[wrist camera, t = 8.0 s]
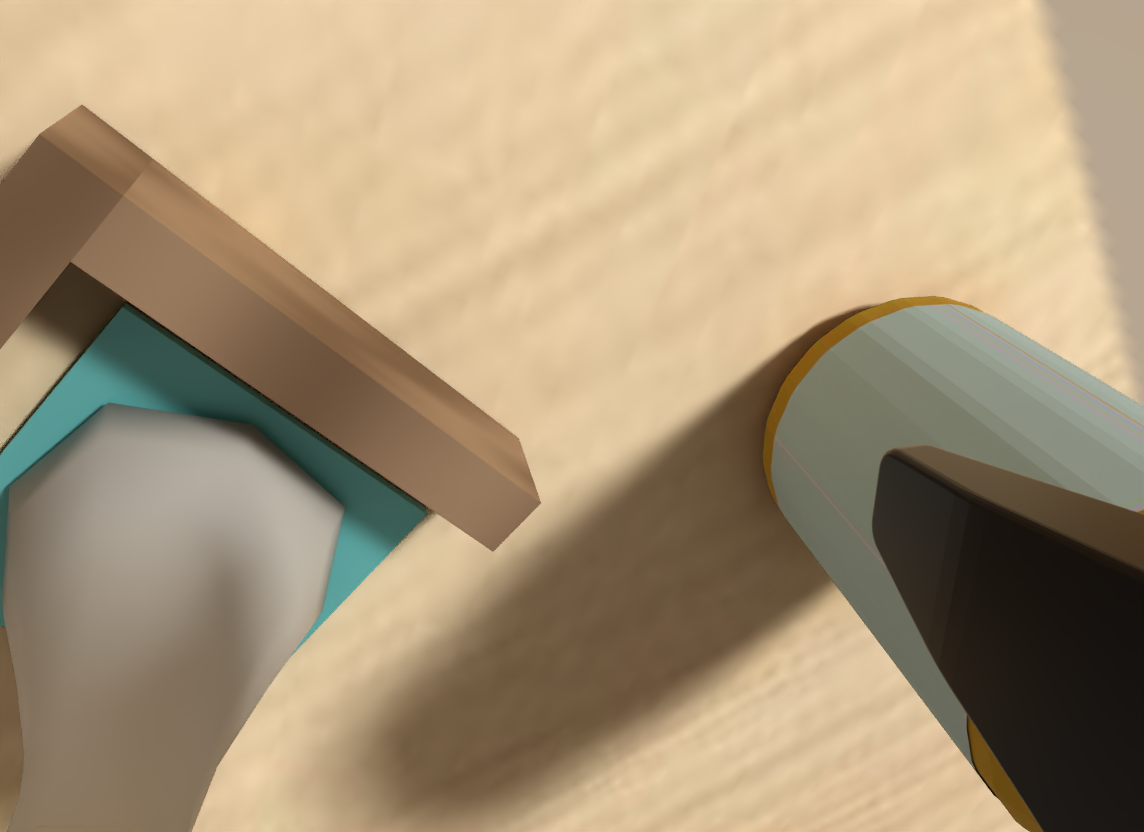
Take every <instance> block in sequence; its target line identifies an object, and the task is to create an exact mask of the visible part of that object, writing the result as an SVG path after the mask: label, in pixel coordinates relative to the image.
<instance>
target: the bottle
mask: <svg viewBox="0 0 1144 832" xmlns="http://www.w3.org/2000/svg"><path fill="white" fill-rule="evenodd" d="M914 445H930V446H934V447H937V448H940V449H943V450H946V451H949V452H952V453H955V454H958V455H962V456H965V457H968V458H971V459H974V460H977V461H980V462H983V463H986V464H989V465H993V466H996V467H999V468H1002V469H1005V470H1008V471H1011V472H1014V473H1017V474H1021V475H1024V476H1027V477H1030V478H1033V479H1036V480H1039V481H1042V482H1045V483H1049V484H1052V485H1055V486H1058V487H1061V488H1064V489H1067V490H1070V491H1073V492H1077V493H1080V494H1083V495H1086V496H1089V497H1092V498H1095V499H1098V500H1101V501H1104V502H1108V503H1111V504H1114V505H1117V506H1120V507H1123V508H1126V509H1129V510H1132V511H1136V512H1139V513H1142V514H1144V406H1143V405H1141V404H1139V403H1138V402H1136V401H1134V400H1133V399H1131V398H1129V397H1127V396H1126V395H1124V394H1122V393H1121V392H1119V391H1117V390H1116V389H1114V388H1112V387H1111V386H1109V385H1107V384H1106V383H1104V382H1102V381H1101V380H1099V379H1097V378H1096V377H1094V376H1092V375H1091V374H1089V373H1087V372H1086V371H1084V370H1082V369H1081V368H1079V367H1077V366H1076V365H1074V364H1072V363H1071V362H1069V361H1067V360H1065V359H1064V358H1062V357H1060V356H1059V355H1057V354H1055V353H1054V352H1052V351H1050V350H1049V349H1047V348H1045V347H1044V346H1042V345H1040V344H1039V343H1037V342H1035V341H1034V340H1032V339H1030V338H1029V337H1027V336H1025V335H1024V334H1022V333H1020V332H1019V331H1017V330H1015V329H1014V328H1012V327H1010V326H1009V325H1007V324H1005V323H1004V322H1002V321H1000V320H998V319H997V318H995V317H993V316H991V315H989V314H987V313H984V312H983V311H981V310H979V309H977V308H975V307H973V306H971V305H968V304H965V303H962V302H958V301H955V300H951V299H948V298H944V297H936V296H928V297H913V298H900V299H896V300H891V301H888V302H886V303H883V304H880V305H878V306H875V307H872V308H870V309H867V310H865V311H862V312H859V313H857V314H855V315H854V316H852V317H850V318H848V319H846V320H845V321H844V322H842V323H841V324H840V325H838V326H837V327H836V328H834V329H833V330H831V331H830V332H829V333H827V334H826V335H825V336H823V337H822V338H821V339H819V340H818V341H817V342H816V343H815V344H814V345H813V346H812V347H811V348H810V349H809V350H808V351H807V352H806V354H805V355H804V356H803V357H802V359H801V360H800V361H799V362H798V363H797V365H796V366H795V367H794V368H793V370H792V371H791V372H790V373H789V375H788V376H787V378H786V379H785V381H784V383H783V384H782V386H781V388H780V390H779V393H778V395H777V397H776V400H775V402H774V404H773V407H772V409H771V411H770V414H769V416H768V420H767V423H766V428H765V438H764V447H763V467H764V471H765V475H766V479H767V483H768V487H769V491H770V493H771V496H772V498H773V500H774V501H775V503H776V504H777V505H778V507H779V508H780V510H781V512H782V514H783V516H784V517H785V518H786V520H787V521H788V522H789V524H790V525H791V526H792V528H793V529H794V530H795V532H796V533H797V534H798V536H799V537H800V538H801V540H802V541H803V542H804V544H805V545H806V546H807V548H808V549H809V550H810V552H811V553H812V554H813V556H814V557H815V558H816V560H817V561H818V562H819V564H820V565H821V566H822V567H823V569H824V570H825V571H826V573H827V574H828V575H829V577H830V578H831V579H832V581H833V582H834V583H835V585H836V586H837V587H838V589H839V590H840V591H841V593H842V594H843V595H844V597H845V598H846V599H847V601H848V602H849V603H850V605H851V606H852V607H853V609H854V610H855V611H856V613H857V614H858V615H859V617H860V618H861V619H862V621H863V622H864V623H865V625H866V626H867V627H868V629H869V630H870V631H871V633H872V634H873V635H874V637H875V638H876V639H877V641H878V642H879V643H880V645H881V646H882V647H883V649H884V650H885V651H886V653H887V654H888V655H889V657H890V658H891V659H892V661H893V662H894V663H895V664H896V666H897V667H898V668H899V670H900V671H901V672H902V674H903V675H904V676H905V678H906V679H907V680H908V682H909V683H910V684H911V686H912V687H913V688H914V690H915V691H916V692H917V694H918V695H919V696H920V698H921V699H922V700H923V702H924V703H925V704H926V706H927V707H928V708H929V710H930V711H931V712H932V714H933V715H934V716H935V718H936V719H937V720H938V722H939V723H940V724H941V726H942V727H943V728H944V730H945V731H946V732H947V734H948V735H949V736H950V738H951V739H952V740H953V742H954V743H955V744H956V746H957V747H958V748H959V750H960V751H961V752H962V754H963V755H964V756H965V758H966V759H967V760H968V761H969V763H970V764H971V765H972V767H973V768H974V769H975V771H976V772H977V773H978V775H979V776H980V777H981V779H982V780H983V781H984V783H985V784H986V785H987V787H988V788H989V789H990V791H991V792H992V793H993V795H994V796H996V797H997V798H998V799H999V800H1000V801H1001V802H1002V804H1003V805H1004V806H1005V808H1006V809H1007V810H1008V812H1009V813H1010V814H1011V816H1012V817H1013V818H1014V820H1015V821H1016V822H1018V823H1019V824H1020V825H1021V826H1022V827H1024V828H1025V829H1027V830H1028V831H1030V832H1043V831H1042V829H1041V828H1040V826H1039V825H1038V823H1037V822H1036V820H1035V819H1034V817H1033V816H1032V814H1031V812H1030V811H1029V809H1028V808H1027V806H1026V805H1025V803H1024V802H1023V800H1022V799H1021V797H1020V795H1019V794H1018V792H1017V791H1016V789H1015V788H1014V786H1013V785H1012V783H1011V782H1010V780H1009V778H1008V777H1007V775H1006V774H1005V772H1004V771H1003V769H1002V768H1001V766H1000V765H999V763H998V761H997V760H996V758H995V757H994V755H993V754H992V752H991V751H990V749H989V748H988V746H987V745H986V743H985V741H984V740H983V738H982V737H981V735H980V734H979V732H978V731H977V729H976V728H975V726H974V724H973V723H972V721H971V720H970V718H969V717H968V715H967V714H966V712H965V711H964V709H963V707H962V706H961V704H960V703H959V701H958V700H957V698H956V697H955V695H954V694H953V692H952V690H951V689H950V687H949V686H948V684H947V682H946V681H945V679H944V677H943V676H942V674H941V672H940V671H939V669H938V667H937V666H936V664H935V662H934V660H933V658H932V656H931V655H930V653H929V651H928V649H927V647H926V645H925V643H924V641H923V639H922V637H921V635H920V633H919V631H918V629H917V627H916V625H915V623H914V621H913V619H912V617H911V615H910V613H909V611H908V609H907V607H906V605H905V603H904V601H903V599H902V597H901V595H900V593H899V591H898V589H897V587H896V585H895V583H894V581H893V579H892V577H891V575H890V573H889V571H888V569H887V567H886V565H885V563H884V561H883V559H882V557H881V555H880V553H879V551H878V549H877V547H876V545H875V542H874V538H873V534H872V515H873V508H874V500H875V493H876V486H877V479H878V472H879V466H880V462H881V459H882V457H883V455H884V454H885V453H886V452H887V451H888V450H889V449H892V448H896V447H905V446H914Z"/></svg>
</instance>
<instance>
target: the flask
mask: <svg viewBox="0 0 1144 832" xmlns="http://www.w3.org/2000/svg"><path fill="white" fill-rule="evenodd" d="M344 510H345V507H344V506H343V505H342V504H341V503H340V502H339V501H338V500H337V499H335V498H334V497H333V496H332V495H331V494H330V493H329V492H328V491H326V490H325V489H324V488H323V487H322V486H321V485H320V484H319V483H317V482H316V481H315V480H314V479H313V478H312V477H311V476H310V475H308V474H307V473H306V472H305V471H304V470H303V469H302V468H301V467H300V466H298V465H297V464H296V463H295V462H294V461H293V460H292V459H291V458H289V457H288V456H287V455H286V454H285V453H284V452H283V451H282V450H280V449H279V448H278V447H277V446H276V445H275V444H274V443H273V442H271V441H270V440H269V439H268V438H267V437H266V436H265V435H264V434H262V433H261V432H260V431H259V430H258V429H257V428H256V427H255V426H254V425H252V424H246V423H240V422H233V421H227V420H220V419H213V418H207V417H200V416H194V415H187V414H181V413H174V412H168V411H161V410H155V409H148V408H142V407H135V406H129V405H122V404H116V403H109V402H108V403H107V404H106V405H105V406H104V407H103V408H101V409H100V410H99V411H98V412H97V413H96V414H94V415H93V416H92V417H91V418H90V419H88V420H87V421H86V422H85V423H84V424H83V425H81V426H80V427H79V428H78V429H77V430H75V431H74V432H73V433H72V434H71V435H70V436H68V437H67V438H66V439H65V440H64V441H63V442H61V443H60V444H59V445H58V446H57V447H55V448H54V449H53V450H52V451H51V452H50V453H48V454H47V455H46V456H45V457H44V458H43V459H41V460H40V461H39V462H38V463H37V464H35V465H34V466H33V467H32V468H31V469H30V470H28V471H27V472H26V473H25V474H24V475H22V476H21V477H20V478H19V479H18V480H17V481H15V482H14V483H13V484H12V485H11V486H10V488H9V502H8V516H7V531H6V545H5V559H4V573H3V588H2V605H3V613H4V621H5V627H6V632H7V637H8V642H9V648H10V653H11V658H12V663H13V669H14V674H15V679H16V687H17V696H18V705H19V714H20V723H21V731H22V740H23V749H24V764H23V772H22V780H21V787H20V795H19V799H18V801H17V804H16V807H15V810H14V813H13V816H12V819H11V822H10V825H9V827H8V830H7V832H191V831H192V829H193V826H194V824H195V821H196V819H197V816H198V814H199V811H200V809H201V806H202V804H203V801H204V799H205V796H206V794H207V791H208V788H209V786H210V783H211V781H212V778H213V776H214V773H215V771H216V768H217V766H218V764H219V763H220V761H221V760H222V758H223V757H224V755H225V754H226V752H227V750H228V749H229V747H230V746H231V744H232V743H233V741H234V740H235V738H236V736H237V735H238V733H239V732H240V730H241V729H242V727H243V726H244V724H245V723H246V721H247V719H248V718H249V716H250V715H251V713H252V712H253V710H254V709H255V707H256V705H257V704H258V702H259V701H260V699H261V698H262V696H263V695H264V693H265V692H266V690H267V688H268V687H269V685H270V684H271V683H272V681H273V680H274V678H275V677H276V676H277V674H278V673H279V672H280V670H281V669H282V667H283V666H284V665H285V663H286V662H287V661H288V659H289V658H290V656H291V655H292V654H293V652H294V651H295V650H296V648H297V647H298V645H299V644H300V643H301V641H302V640H303V639H304V637H305V636H306V634H307V633H308V632H309V630H310V629H311V627H312V626H313V624H314V623H315V621H316V620H317V618H318V616H319V615H320V613H321V612H322V610H323V607H324V602H325V598H326V593H327V589H328V584H329V579H330V575H331V570H332V565H333V561H334V556H335V552H336V547H337V542H338V538H339V533H340V529H341V524H342V519H343V515H344Z"/></svg>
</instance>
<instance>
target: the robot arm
mask: <svg viewBox="0 0 1144 832" xmlns="http://www.w3.org/2000/svg"><path fill="white" fill-rule="evenodd" d="M872 534H873V538H874V542H875V545H876V547H877V549H878V551H879V553H880V555H881V557H882V559H883V561H884V563H885V565H886V567H887V569H888V571H889V573H890V575H891V577H892V579H893V581H894V583H895V585H896V587H897V589H898V591H899V593H900V595H901V597H902V599H903V601H904V603H905V605H906V607H907V609H908V611H909V613H910V615H911V617H912V619H913V621H914V623H915V625H916V627H917V629H918V631H919V633H920V635H921V637H922V639H923V641H924V643H925V645H926V647H927V649H928V651H929V653H930V655H931V656H932V658H933V660H934V662H935V664H936V666H937V667H938V669H939V671H940V672H941V674H942V676H943V677H944V679H945V681H946V682H947V684H948V686H949V687H950V689H951V690H952V692H953V694H954V695H955V697H956V698H957V700H958V701H959V703H960V704H961V706H962V707H963V709H964V711H965V712H966V714H967V715H968V717H969V718H970V720H971V721H972V723H973V724H974V726H975V728H976V729H977V731H978V732H979V734H980V735H981V737H982V738H983V740H984V741H985V743H986V745H987V746H988V748H989V749H990V751H991V752H992V754H993V755H994V757H995V758H996V760H997V761H998V763H999V765H1000V766H1001V768H1002V769H1003V771H1004V772H1005V774H1006V775H1007V777H1008V778H1009V780H1010V782H1011V783H1012V785H1013V786H1014V788H1015V789H1016V791H1017V792H1018V794H1019V795H1020V797H1021V799H1022V800H1023V802H1024V803H1025V805H1026V806H1027V808H1028V809H1029V811H1030V812H1031V814H1032V816H1033V817H1034V819H1035V820H1036V822H1037V823H1038V825H1039V826H1040V828H1041V829H1042V831H1043V832H1144V514H1142V513H1139V512H1136V511H1132V510H1129V509H1126V508H1123V507H1120V506H1117V505H1114V504H1111V503H1108V502H1104V501H1101V500H1098V499H1095V498H1092V497H1089V496H1086V495H1083V494H1080V493H1077V492H1073V491H1070V490H1067V489H1064V488H1061V487H1058V486H1055V485H1052V484H1049V483H1045V482H1042V481H1039V480H1036V479H1033V478H1030V477H1027V476H1024V475H1021V474H1017V473H1014V472H1011V471H1008V470H1005V469H1002V468H999V467H996V466H993V465H989V464H986V463H983V462H980V461H977V460H974V459H971V458H968V457H965V456H962V455H958V454H955V453H952V452H949V451H946V450H943V449H940V448H937V447H934V446H930V445H914V446H905V447H896V448H892V449H889V450H888V451H887V452H886V453H885V454H884V455H883V457H882V459H881V462H880V466H879V472H878V479H877V486H876V493H875V500H874V508H873V515H872Z"/></svg>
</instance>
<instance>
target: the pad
mask: <svg viewBox="0 0 1144 832" xmlns="http://www.w3.org/2000/svg"><path fill="white" fill-rule="evenodd" d="M108 402H109V403H116V404H122V405H129V406H135V407H142V408H148V409H155V410H161V411H168V412H174V413H181V414H187V415H194V416H200V417H207V418H213V419H220V420H227V421H233V422H240V423H246V424H252V425H254V426H255V427H256V428H257V429H258V430H259V431H260V432H261V433H262V434H264V435H265V436H266V437H267V438H268V439H269V440H270V441H271V442H273V443H274V444H275V445H276V446H277V447H278V448H279V449H280V450H282V451H283V452H284V453H285V454H286V455H287V456H288V457H289V458H291V459H292V460H293V461H294V462H295V463H296V464H297V465H298V466H300V467H301V468H302V469H303V470H304V471H305V472H306V473H307V474H308V475H310V476H311V477H312V478H313V479H314V480H315V481H316V482H317V483H319V484H320V485H321V486H322V487H323V488H324V489H325V490H326V491H328V492H329V493H330V494H331V495H332V496H333V497H334V498H335V499H337V500H338V501H339V502H340V503H341V504H342V505H343V506H344V507H345V510H344V515H343V519H342V524H341V529H340V533H339V538H338V542H337V547H336V552H335V556H334V561H333V565H332V570H331V575H330V579H329V584H328V589H327V593H326V598H325V602H324V607H323V610H322V612H321V613H320V615H319V616H318V618H317V620H316V621H315V623H314V624H313V626H312V627H311V629H310V630H309V632H308V633H307V634H306V636H305V637H304V639H303V640H302V641H301V643H300V644H299V645H298V647H297V648H296V650H297V649H298V648H299V647H300V646H301V645H302V644H303V643H304V642H305V641H306V640H307V639H308V638H309V637H310V636H311V635H312V634H313V633H314V632H315V631H316V630H317V629H318V627H319V626H320V625H321V624H322V623H323V622H324V621H325V620H326V619H327V618H328V617H329V616H330V615H331V614H332V613H333V612H334V611H335V610H336V609H337V608H338V607H339V605H340V604H341V603H342V602H343V601H344V600H345V599H346V598H347V597H348V596H349V595H350V594H351V593H352V592H353V591H354V590H355V589H356V588H357V587H358V586H359V585H360V584H361V582H362V581H363V580H364V579H365V578H366V577H367V576H368V575H369V574H370V573H371V572H372V571H373V570H374V569H375V568H376V567H377V566H378V565H379V564H380V563H381V562H382V561H383V559H384V558H385V557H386V556H387V555H388V554H389V553H390V552H391V551H392V550H393V549H394V548H395V547H396V546H397V545H398V544H399V543H400V542H401V541H402V540H403V539H404V537H405V536H406V535H407V534H408V533H409V532H410V531H411V530H412V529H413V528H414V527H415V526H416V525H417V524H418V523H419V522H420V521H421V520H422V519H423V518H424V517H425V516H426V514H427V512H426V507H424V506H423V505H421V504H420V503H418V502H417V501H415V500H414V499H412V498H411V497H409V496H408V495H407V494H405V493H404V492H402V491H401V490H399V489H398V488H396V487H395V486H393V485H392V484H390V483H389V482H388V481H386V480H385V479H383V478H382V477H380V476H379V475H377V474H376V473H374V472H373V471H371V470H370V469H369V468H367V467H366V466H364V465H363V464H361V463H360V462H358V461H357V460H355V459H354V458H352V457H351V456H350V455H348V454H347V453H345V452H344V451H342V450H341V449H339V448H338V447H336V446H335V445H334V444H332V443H331V442H329V441H328V440H326V439H325V438H323V437H322V436H320V435H319V434H317V433H316V432H315V431H313V430H312V429H310V428H309V427H307V426H306V425H304V424H303V423H301V422H300V421H298V420H297V419H296V418H294V417H293V416H291V415H290V414H288V413H287V412H285V411H284V410H282V409H281V408H279V407H278V406H277V405H275V404H274V403H272V402H271V401H269V400H268V399H266V398H265V397H263V396H262V395H260V394H259V393H258V392H256V391H255V390H253V389H252V388H250V387H249V386H247V385H246V384H244V383H243V382H242V381H240V380H239V379H237V378H236V377H234V376H233V375H231V374H230V373H228V372H227V371H225V370H224V369H223V368H221V367H220V366H218V365H217V364H215V363H214V362H212V361H211V360H209V359H208V358H206V357H205V356H204V355H202V354H201V353H199V352H198V351H196V350H195V349H193V348H192V347H190V346H189V345H187V344H186V343H185V342H183V341H182V340H180V339H179V338H177V337H176V336H174V335H173V334H171V333H170V332H168V331H167V330H166V329H164V328H163V327H161V326H160V325H158V324H157V323H155V322H154V321H152V320H151V319H150V318H148V317H147V316H145V315H144V314H142V313H141V312H139V311H138V310H136V309H135V308H133V307H132V306H131V305H129V304H128V303H126V302H125V303H124V305H123V306H122V307H121V308H120V309H119V311H118V312H117V313H116V314H115V315H114V317H113V318H112V319H111V320H110V322H109V323H108V324H107V325H106V326H105V328H104V329H103V330H102V331H101V332H100V334H99V335H98V336H97V337H96V338H95V340H94V341H93V342H92V343H91V345H90V346H89V347H88V348H87V349H86V351H85V352H84V353H83V354H82V355H81V357H80V358H79V359H78V360H77V361H76V363H75V364H74V365H73V366H72V367H71V369H70V370H69V371H68V372H67V374H66V375H65V376H64V377H63V378H62V380H61V381H60V382H59V383H58V384H57V386H56V387H55V388H54V389H53V390H52V392H51V393H50V394H49V395H48V397H47V398H46V399H45V400H44V401H43V403H42V404H41V405H40V406H39V407H38V409H37V410H36V411H35V412H34V413H33V415H32V416H31V417H30V418H29V420H28V421H27V422H26V423H25V424H24V426H23V427H22V428H21V429H20V430H19V432H18V433H17V434H16V435H15V436H14V438H13V439H12V440H11V441H10V443H9V444H8V445H7V446H6V447H5V449H4V450H3V451H2V452H1V453H0V625H1V626H3V627H5V621H4V613H3V605H2V588H3V573H4V559H5V545H6V531H7V516H8V502H9V488H10V486H11V485H12V484H13V483H14V482H15V481H17V480H18V479H19V478H20V477H21V476H22V475H24V474H25V473H26V472H27V471H28V470H30V469H31V468H32V467H33V466H34V465H35V464H37V463H38V462H39V461H40V460H41V459H43V458H44V457H45V456H46V455H47V454H48V453H50V452H51V451H52V450H53V449H54V448H55V447H57V446H58V445H59V444H60V443H61V442H63V441H64V440H65V439H66V438H67V437H68V436H70V435H71V434H72V433H73V432H74V431H75V430H77V429H78V428H79V427H80V426H81V425H83V424H84V423H85V422H86V421H87V420H88V419H90V418H91V417H92V416H93V415H94V414H96V413H97V412H98V411H99V410H100V409H101V408H103V407H104V406H105V405H106V404H107V403H108ZM5 628H6V627H5ZM296 650H295V651H294V652H293V654H294V653H295V652H296ZM293 654H292V655H293ZM292 655H291V656H292ZM291 656H290V657H291Z"/></svg>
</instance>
